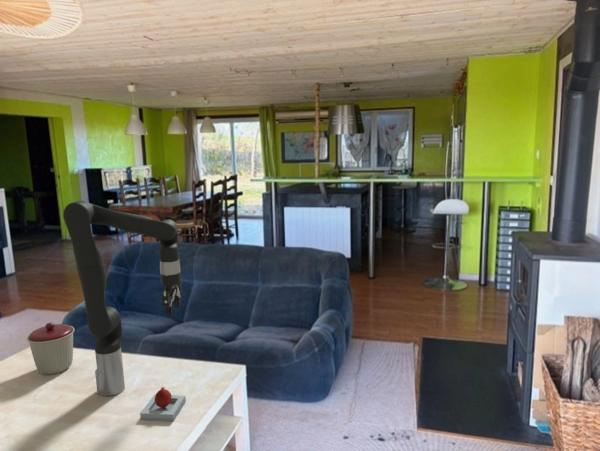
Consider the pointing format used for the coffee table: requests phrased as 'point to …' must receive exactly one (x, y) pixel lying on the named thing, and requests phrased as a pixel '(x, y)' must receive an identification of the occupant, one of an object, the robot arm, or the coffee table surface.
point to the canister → (52, 347)
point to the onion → (163, 398)
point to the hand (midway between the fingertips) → (173, 311)
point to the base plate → (163, 409)
